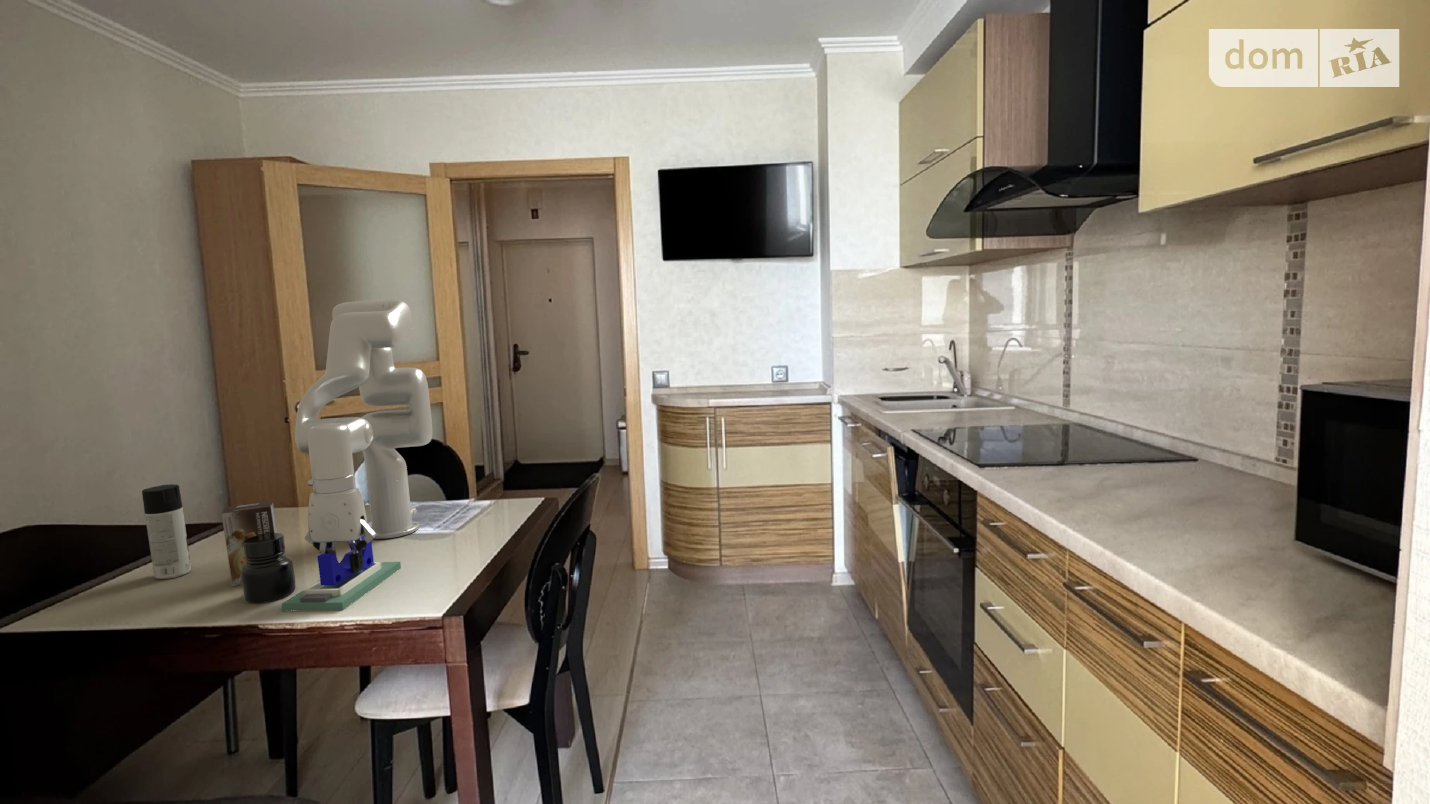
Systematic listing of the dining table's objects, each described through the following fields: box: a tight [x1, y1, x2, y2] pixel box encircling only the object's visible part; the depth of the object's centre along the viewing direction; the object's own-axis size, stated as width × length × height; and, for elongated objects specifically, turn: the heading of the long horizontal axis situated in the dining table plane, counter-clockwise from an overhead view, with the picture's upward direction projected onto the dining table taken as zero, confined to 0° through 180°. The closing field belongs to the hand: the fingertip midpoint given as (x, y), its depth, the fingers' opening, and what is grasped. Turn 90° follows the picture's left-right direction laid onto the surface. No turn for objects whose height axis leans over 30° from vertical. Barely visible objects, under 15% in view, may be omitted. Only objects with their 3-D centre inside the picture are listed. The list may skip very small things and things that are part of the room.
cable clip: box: [317, 535, 375, 586], centre depth 144 cm, size 12×4×6 cm, turn 170°
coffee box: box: [221, 500, 278, 587], centre depth 151 cm, size 9×6×16 cm
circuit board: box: [281, 561, 402, 612], centre depth 144 cm, size 22×12×3 cm, turn 177°
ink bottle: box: [241, 532, 296, 604], centre depth 141 cm, size 10×9×12 cm
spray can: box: [141, 483, 192, 580], centre depth 155 cm, size 7×7×20 cm
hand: (344, 570), depth 144 cm, fingers closed on cable clip, 4 cm apart
